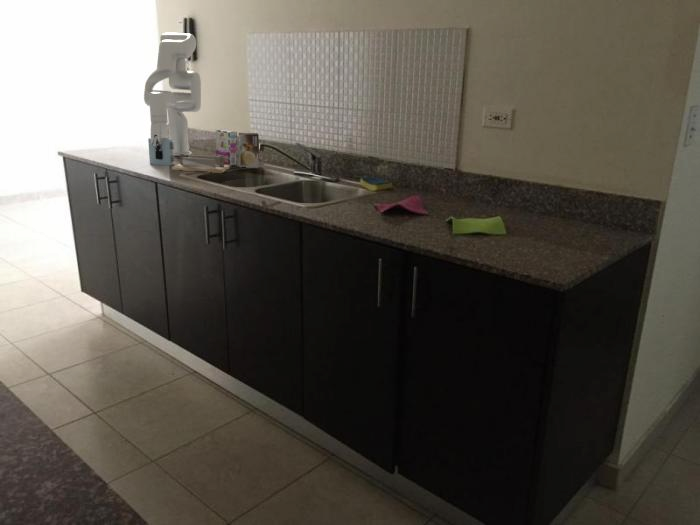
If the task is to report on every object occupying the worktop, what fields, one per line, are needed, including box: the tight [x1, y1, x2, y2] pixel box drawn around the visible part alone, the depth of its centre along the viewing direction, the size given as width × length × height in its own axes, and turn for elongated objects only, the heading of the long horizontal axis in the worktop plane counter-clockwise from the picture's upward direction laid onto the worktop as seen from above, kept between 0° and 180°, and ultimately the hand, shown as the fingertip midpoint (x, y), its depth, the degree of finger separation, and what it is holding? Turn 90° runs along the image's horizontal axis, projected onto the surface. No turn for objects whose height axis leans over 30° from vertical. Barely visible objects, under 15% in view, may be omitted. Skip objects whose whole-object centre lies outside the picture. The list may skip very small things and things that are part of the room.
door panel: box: [147, 137, 175, 166], centre depth 281 cm, size 4×11×12 cm, turn 84°
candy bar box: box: [215, 129, 238, 167], centre depth 287 cm, size 11×5×16 cm, turn 47°
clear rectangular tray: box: [171, 153, 232, 174], centre depth 274 cm, size 15×23×6 cm, turn 84°
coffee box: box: [238, 132, 260, 169], centre depth 284 cm, size 9×6×16 cm
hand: (161, 158), depth 282 cm, fingers closed on door panel, 4 cm apart
